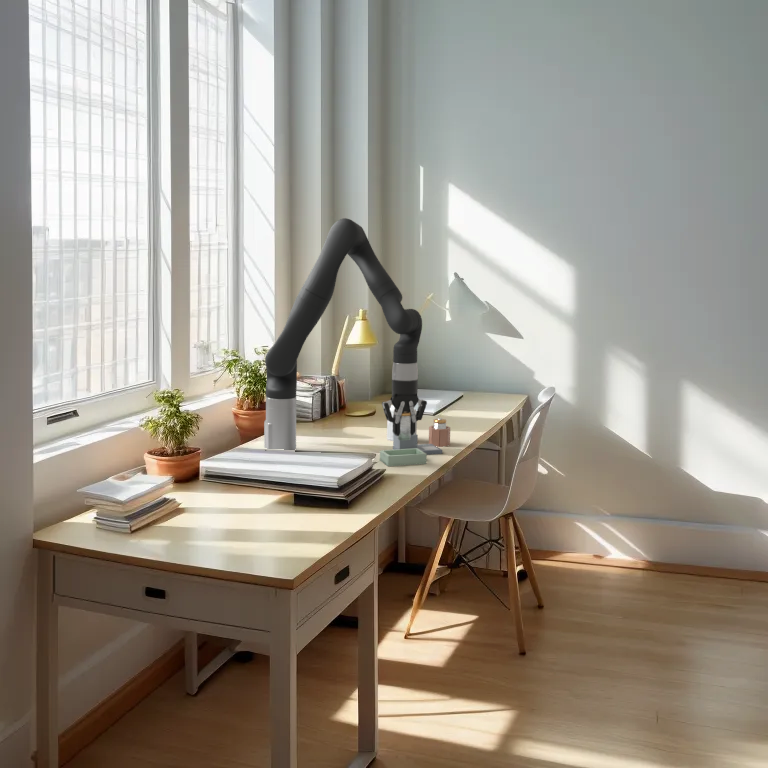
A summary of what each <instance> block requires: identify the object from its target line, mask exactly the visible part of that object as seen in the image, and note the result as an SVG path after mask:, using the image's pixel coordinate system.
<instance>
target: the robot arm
mask: <svg viewBox="0 0 768 768" xmlns="http://www.w3.org/2000/svg"><path fill="white" fill-rule="evenodd" d="M326 236H327V237H326V238H325V241H324V244H323V246H322V248H321V250H320V253H319V255H318V257H317V259H316V261H315V263H314V265H313V267H312V269H311V271H310V273H309V274H308V275H307V278H306V280H305V281H304V283H303V284H302V287H301V289H300V290H299V292H298V294H297V296H296V297H295V300H294V302H293V305H292V307H291V310H290V312H289V314H288V318H287V320H286V322H285V325H284V327H283V330H282V331H281V333H280V335H279V336H278V338H277V339H276V341H275V342H274V343H273V345H272V346H271V347H270V349H268V351H267V352H266V354H265V358H264V362H265V366H266V367H265V368H266V385H265V420H264V421H263V422H264V423H263V424H264V425H263V428H264V433H263V435H264V436H263V437H264V438H263V439H264V441H263V442H264V444H263V447H264V448H267V449H284V450H295V449H296V450H297V388H298V387H297V386H298V358H299V355H300V353H301V351H302V349H303V346H304V344H305V342H306V340H307V339H308V337H309V335H310V334H311V332H312V331H313V330H314V329H315V327H316V325H317V324H318V322H319V321H320V319H321V318H322V316H323V315H324V312H325V311H326V309H327V307H328V306H329V304H330V301H331V300H332V298H333V295H334V291H335V287H336V282H337V279H338V278H337V277H338V273H339V270H340V267H341V265H342V263H343V262H344V260H345V258H346V256H347V255H348V256H349V258H350V259H352V261H353V262H355V264H356V265H357V266H358V269H359V270H360V271H361V273H362V275H363V277H364V280H365V282H366V284H367V287H368V288H369V290H370V292H371V293H372V295H373V296H374V298H375V299H376V301H377V303H378V304H379V305H380V306H381V309H382V312H383V315H384V318H385V321H386V322H387V324H388V327H389V328H390V329H391V330H392V331H393V332H394V333H396V335H397V334H398V335H399V339H398V341H397V342H395V343H394V345H393V351H392V354H393V356H392V358H393V359H392V361H393V362H392V368H391V372H392V373H391V397H390V399H389V400H387V401H382V402H381V406H382V410H383V413H384V415H385V416H384V417H385V419H386V420H388V421H390V422H392V423H393V433H394V434H395V435H396V436H399V419H400V416H401V414H402V412H405V411H406V412H410V413H411V435H414V433H415V427H416V421H417V422H418V421H422V419H423V416H424V413H425V412H426V411H425V410H426V407H427V404H428V401H427V400H424V399H420V398H419V396H418V386H419V384H418V379H419V370H418V346H419V344H420V340H421V335H422V330H423V319H422V316H421V314H420V312H419V311H418V310H417V309H413V308H406V309H405V308H404V306H403V304H402V301H403V294H402V292H401V291H400V290H399V287H398V286H397V285H396V283H395V281H394V280H393V279H392V278H391V276H390V274H389V273H388V272H387V270H386V269H385V268H384V266H383V265H382V264H381V262H380V260H379V258H378V257H377V254H376V252H374V249H373V247H372V246H371V243H370V240H369V239H368V236H367V234H366V232H365V230H364V228H363V227H362V226H361V225H359V223H356V221H354V220H352V219H350V218H346V217H345V218H340V219H338V220H337V221H335V222H334V223H333V224H332V226H331V227H330V229H329V231H328V233H327V235H326ZM392 405H393V406H394V407H395V409H394V412H393V414H394V415H393V418H392V414H391V411H390V408H391V406H392ZM416 406H418V407H417V409H416V411H417V412H416V415H415V411H414V409H415V407H416Z"/></svg>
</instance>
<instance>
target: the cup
mask: <svg viewBox="0 0 768 768" xmlns="http://www.w3.org/2000/svg"><path fill="white" fill-rule="evenodd" d="M428 444H433V445H435V446H437V447H438V448H441V447H443V446H446V447H448V445H449V446H450V445H451V427H450V426H448V425H446V429H435V428H434V424H433V425H431V426H429V427H428Z"/></svg>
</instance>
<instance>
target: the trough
mask: <svg viewBox="0 0 768 768" xmlns="http://www.w3.org/2000/svg"><path fill="white" fill-rule="evenodd" d="M427 458H428V457H427V454H426V453H424V452H423V451H421V450H419V449H418V448H412V449H396V450H393V449H385V450H384V449H382V450H379V461H380V462H382V463H383V464H384V465H385V466H387V467H399V466H414V465H426V464H427Z"/></svg>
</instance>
